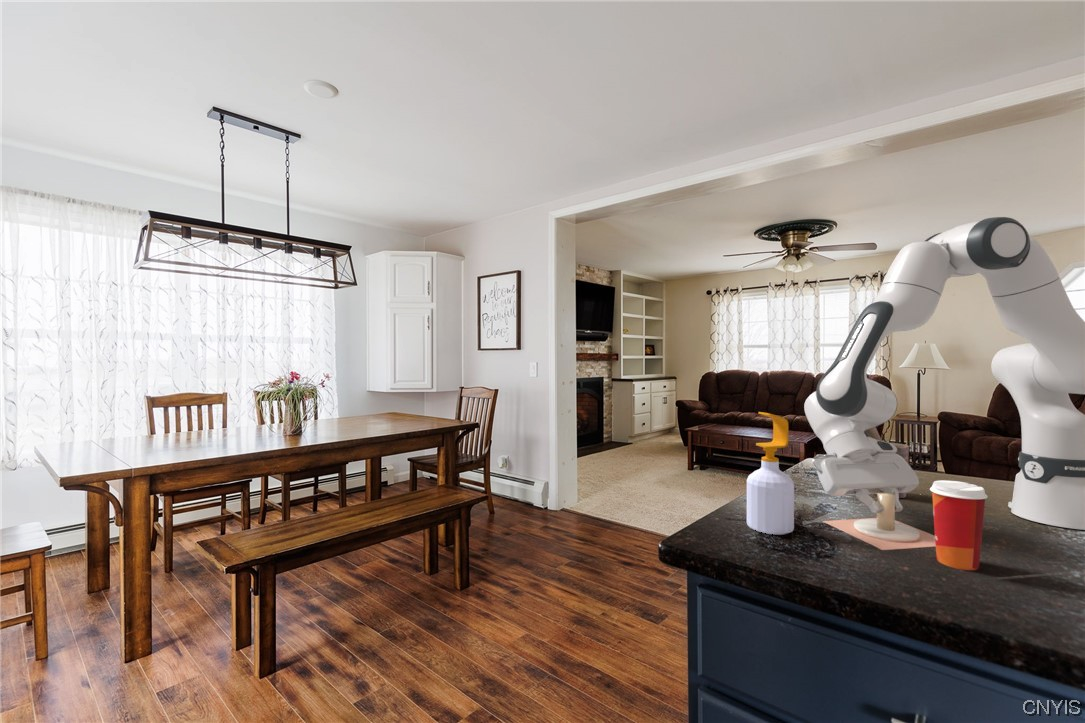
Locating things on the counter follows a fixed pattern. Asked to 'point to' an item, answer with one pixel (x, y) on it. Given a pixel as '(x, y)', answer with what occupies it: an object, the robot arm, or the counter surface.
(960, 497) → the paper cup
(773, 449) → the soap bottle
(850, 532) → the mat
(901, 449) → the mortar and pestle
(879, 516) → the lid
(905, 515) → the counter surface
